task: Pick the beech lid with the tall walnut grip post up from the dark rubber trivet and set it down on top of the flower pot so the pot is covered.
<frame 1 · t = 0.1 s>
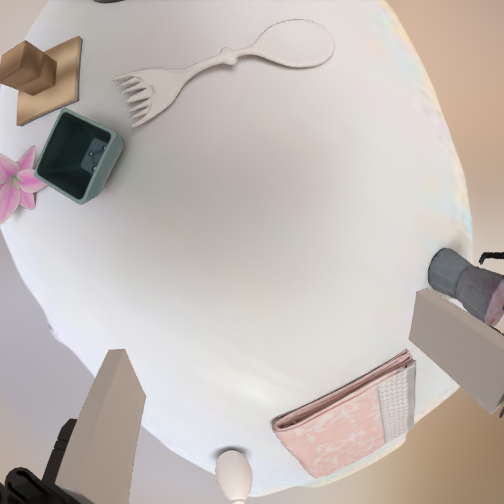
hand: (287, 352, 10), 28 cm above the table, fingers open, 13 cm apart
lily: (32, 182, 30), on the table
flower pot: (99, 158, 32), on the table
moka pot: (440, 266, 46), on the table
lid: (47, 80, 26), resting on trivet
towel: (353, 421, 55), on the table
white spork: (231, 63, 31), on the table
sauce bottle: (230, 451, 50), on the table
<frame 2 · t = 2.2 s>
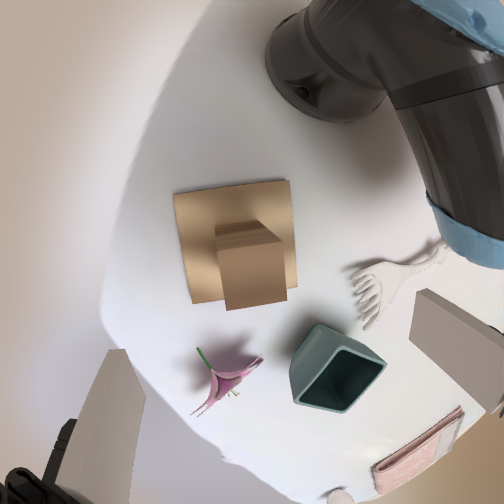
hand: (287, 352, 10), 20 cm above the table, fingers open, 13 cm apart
lily: (222, 362, 34), on the table
flower pot: (317, 343, 36), on the table
lid: (237, 241, 29), resting on trivet
towel: (415, 453, 58), on the table
white spork: (429, 247, 35), on the table
sauce bottle: (334, 490, 54), on the table
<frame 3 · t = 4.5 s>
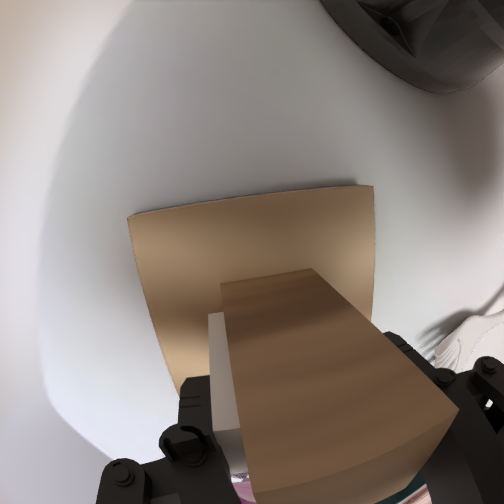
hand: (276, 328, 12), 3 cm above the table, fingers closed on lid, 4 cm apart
lily: (238, 459, 19), on the table
flower pot: (368, 423, 21), on the table
lid: (267, 308, 15), resting on trivet, touching gripper
towel: (435, 481, 44), on the table
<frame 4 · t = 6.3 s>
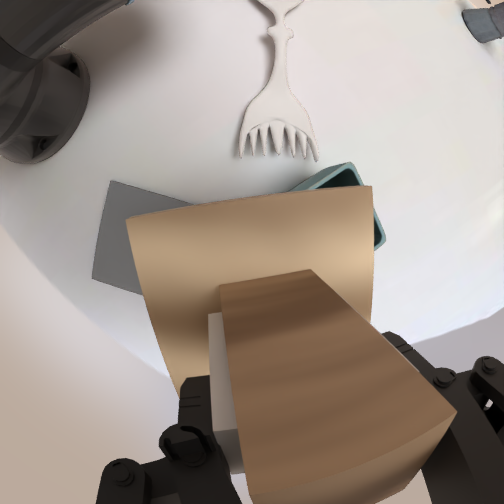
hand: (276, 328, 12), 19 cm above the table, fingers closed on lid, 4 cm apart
trivet: (146, 245, 29), on the table
flower pot: (301, 212, 32), on the table
moka pot: (471, 25, 25), on the table
lid: (266, 308, 15), point 17 cm above the table, touching gripper
white spork: (273, 39, 25), on the table
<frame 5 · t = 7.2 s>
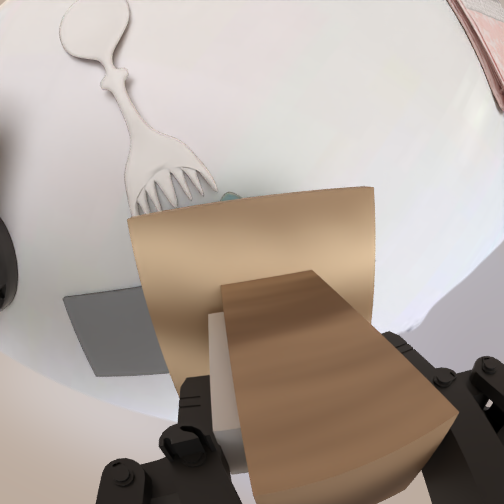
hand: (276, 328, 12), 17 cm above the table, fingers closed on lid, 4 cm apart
trivet: (118, 336, 29), on the table
lid: (267, 309, 14), point 15 cm above the table, touching gripper
towel: (494, 44, 26), on the table
white spork: (121, 84, 22), on the table
when the fingers open (13 cm above the table, at t = 8.1 s): lid drops 2 cm, resting on flower pot.
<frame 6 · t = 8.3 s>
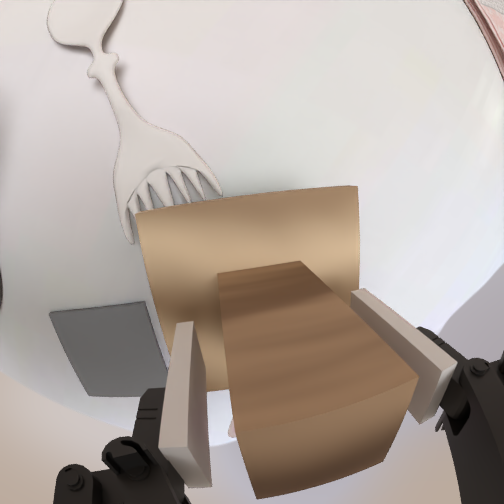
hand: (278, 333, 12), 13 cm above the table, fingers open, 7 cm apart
trivet: (111, 355, 25), on the table
lid: (260, 297, 16), point 9 cm above the table, touching flower pot
white spork: (111, 72, 18), on the table
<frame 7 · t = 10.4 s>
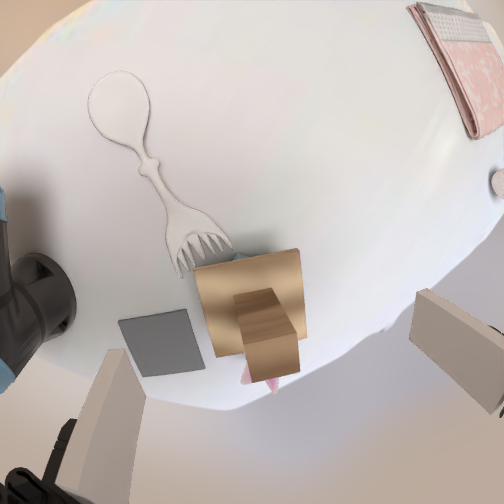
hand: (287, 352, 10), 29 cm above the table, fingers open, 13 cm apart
lily: (260, 341, 45), on the table
trivet: (162, 345, 42), on the table
lid: (254, 304, 33), point 9 cm above the table, touching flower pot
towel: (471, 66, 37), on the table
white spork: (151, 164, 35), on the table
sauce bottle: (492, 182, 45), on the table
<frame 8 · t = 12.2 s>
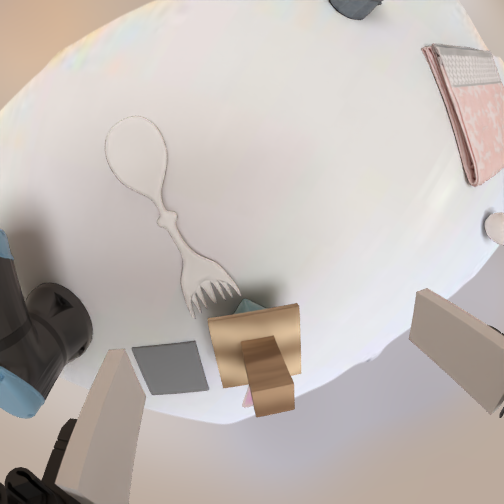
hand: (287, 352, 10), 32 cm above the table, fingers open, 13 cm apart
trivet: (171, 369, 46), on the table
moka pot: (345, 4, 32), on the table
lid: (257, 347, 37), point 9 cm above the table, touching flower pot
towel: (478, 108, 42), on the table
white spork: (168, 213, 39), on the table
sauce bottle: (485, 223, 50), on the table
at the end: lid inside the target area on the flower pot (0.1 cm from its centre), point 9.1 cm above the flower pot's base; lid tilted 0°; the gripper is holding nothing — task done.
